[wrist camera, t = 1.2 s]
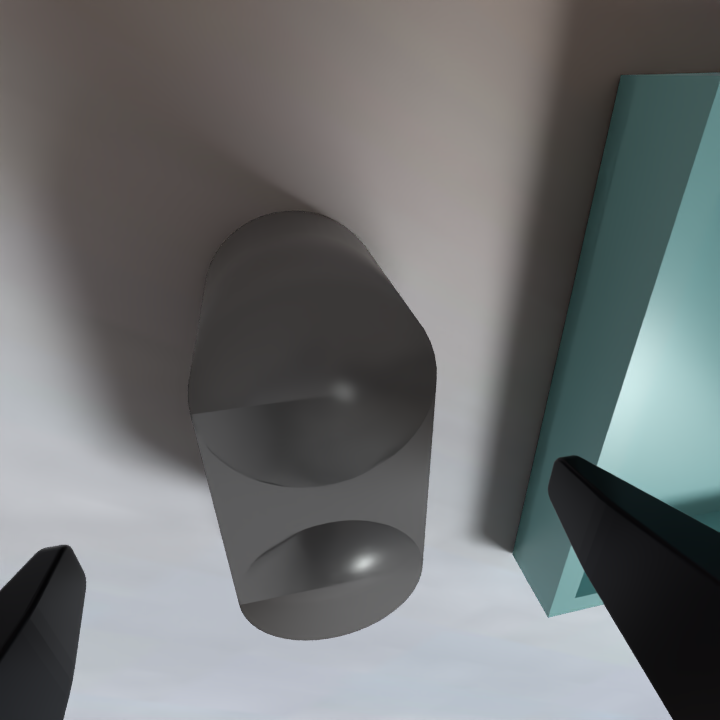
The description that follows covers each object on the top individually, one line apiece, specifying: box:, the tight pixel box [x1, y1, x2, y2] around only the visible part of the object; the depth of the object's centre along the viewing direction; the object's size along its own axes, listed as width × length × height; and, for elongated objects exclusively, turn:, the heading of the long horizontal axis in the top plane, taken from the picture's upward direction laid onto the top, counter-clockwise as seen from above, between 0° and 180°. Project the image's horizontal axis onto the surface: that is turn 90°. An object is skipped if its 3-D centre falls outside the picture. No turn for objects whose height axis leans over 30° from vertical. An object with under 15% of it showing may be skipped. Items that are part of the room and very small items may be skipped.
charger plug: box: [188, 211, 437, 640], centre depth 11 cm, size 11×4×4 cm, turn 1°
